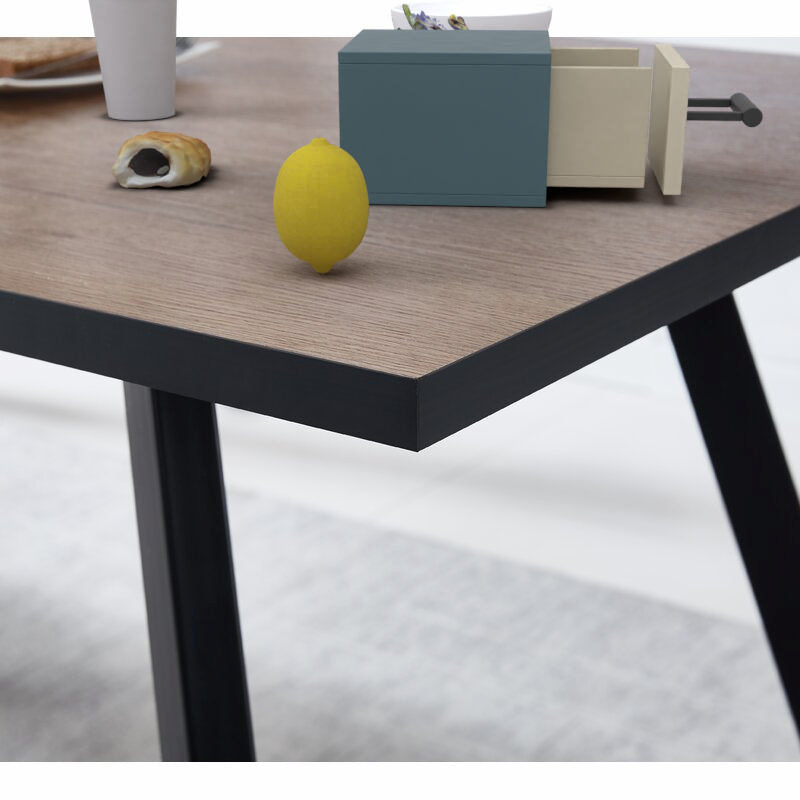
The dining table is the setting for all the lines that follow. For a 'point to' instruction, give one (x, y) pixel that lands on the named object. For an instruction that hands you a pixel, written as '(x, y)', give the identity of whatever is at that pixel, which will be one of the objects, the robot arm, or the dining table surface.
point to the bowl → (479, 14)
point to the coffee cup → (137, 56)
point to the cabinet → (448, 115)
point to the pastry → (161, 160)
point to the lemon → (321, 204)
